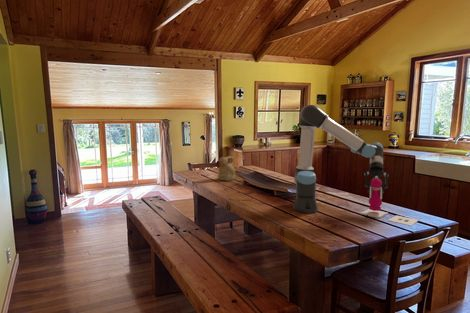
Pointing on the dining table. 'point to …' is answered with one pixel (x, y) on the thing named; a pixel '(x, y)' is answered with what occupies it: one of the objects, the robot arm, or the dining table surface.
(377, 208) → the pepper mill
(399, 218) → the tile
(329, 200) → the dining table surface
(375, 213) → the pad
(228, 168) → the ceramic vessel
